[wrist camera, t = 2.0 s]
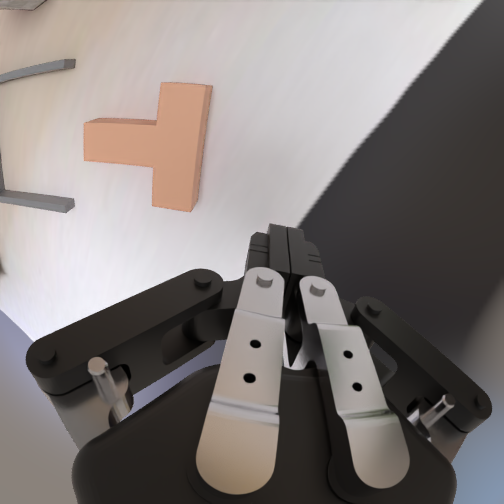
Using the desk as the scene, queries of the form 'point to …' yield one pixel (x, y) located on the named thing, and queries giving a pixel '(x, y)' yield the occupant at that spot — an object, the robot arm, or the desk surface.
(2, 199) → the charcoal bay
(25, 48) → the desk surface
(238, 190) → the desk surface
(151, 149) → the T block
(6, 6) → the candy bar box
